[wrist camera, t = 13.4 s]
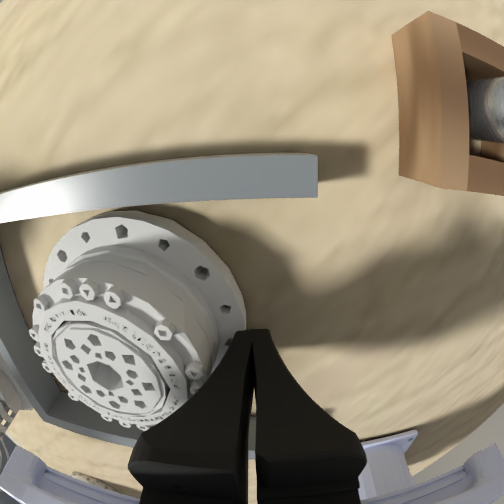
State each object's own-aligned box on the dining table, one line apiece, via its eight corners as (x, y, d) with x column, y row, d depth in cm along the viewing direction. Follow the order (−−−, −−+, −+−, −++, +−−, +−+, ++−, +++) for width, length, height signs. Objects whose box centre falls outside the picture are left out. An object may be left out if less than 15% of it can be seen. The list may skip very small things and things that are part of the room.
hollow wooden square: (494, 186, 10) (535, 201, 7) (398, 175, 10) (440, 188, 7) (490, 70, 8) (531, 65, 5) (391, 35, 8) (428, 11, 5)
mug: (98, 477, 22) (84, 517, 16) (126, 497, 25) (117, 533, 18) (50, 462, 23) (35, 495, 17) (77, 484, 26) (66, 514, 19)
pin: (473, 142, 9) (564, 158, 4) (434, 134, 9) (533, 144, 4) (470, 92, 8) (560, 88, 3) (431, 80, 8) (525, 62, 3)
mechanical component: (239, 394, 15) (259, 218, 11) (234, 461, 10) (260, 265, 7) (80, 364, 14) (46, 204, 11) (49, 414, 10) (-19, 233, 7)
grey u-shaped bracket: (290, 425, 15) (293, 457, 13) (56, 398, 16) (43, 420, 14) (303, 152, 10) (317, 155, 7) (-20, 198, 10) (-50, 210, 8)
